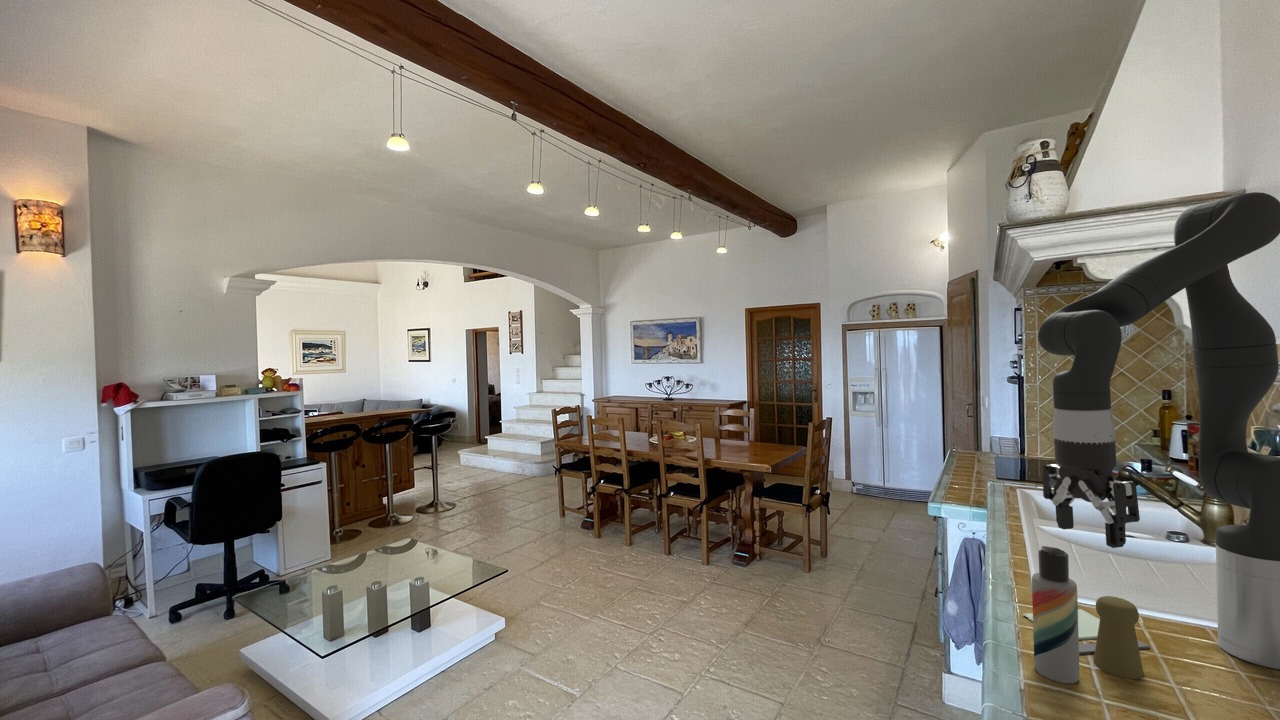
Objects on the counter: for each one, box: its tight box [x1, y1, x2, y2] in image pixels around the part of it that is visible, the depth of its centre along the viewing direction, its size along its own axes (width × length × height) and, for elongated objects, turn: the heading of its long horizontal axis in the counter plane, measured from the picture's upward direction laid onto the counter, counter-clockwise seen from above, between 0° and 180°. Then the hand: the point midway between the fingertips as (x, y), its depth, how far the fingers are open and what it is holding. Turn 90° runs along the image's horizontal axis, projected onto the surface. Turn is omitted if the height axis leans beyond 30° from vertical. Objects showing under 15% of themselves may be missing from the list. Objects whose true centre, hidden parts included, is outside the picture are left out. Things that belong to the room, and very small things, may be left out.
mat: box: [1022, 608, 1100, 641], centre depth 98 cm, size 12×9×1 cm
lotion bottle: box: [1031, 545, 1080, 684], centre depth 84 cm, size 6×6×20 cm
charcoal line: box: [1079, 639, 1151, 656], centre depth 90 cm, size 16×2×1 cm, turn 94°
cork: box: [1093, 595, 1145, 680], centre depth 85 cm, size 6×6×11 cm
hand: (1089, 537), depth 84 cm, fingers open, 8 cm apart
